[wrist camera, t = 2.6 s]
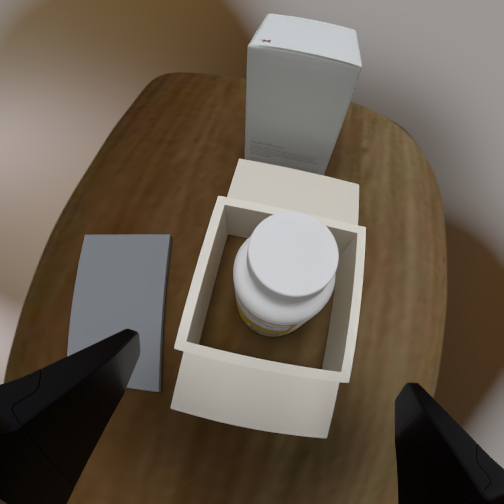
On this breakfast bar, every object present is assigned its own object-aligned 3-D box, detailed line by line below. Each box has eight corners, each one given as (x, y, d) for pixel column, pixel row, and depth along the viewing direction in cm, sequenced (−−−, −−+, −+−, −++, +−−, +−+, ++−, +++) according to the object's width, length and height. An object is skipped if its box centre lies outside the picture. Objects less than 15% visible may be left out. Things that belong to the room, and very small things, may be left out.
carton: (317, 425, 18) (336, 439, 14) (177, 397, 18) (160, 405, 14) (348, 215, 24) (366, 186, 20) (232, 191, 25) (231, 157, 21)
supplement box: (322, 184, 25) (364, 68, 14) (242, 166, 26) (243, 43, 14) (328, 131, 28) (358, 29, 16) (259, 116, 29) (266, 10, 17)
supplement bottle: (290, 256, 23) (318, 183, 14) (320, 319, 21) (375, 281, 12) (224, 282, 22) (212, 219, 13) (253, 349, 20) (262, 335, 11)
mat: (161, 391, 18) (158, 391, 18) (70, 375, 18) (66, 375, 18) (171, 237, 23) (170, 234, 22) (88, 237, 23) (85, 234, 22)
